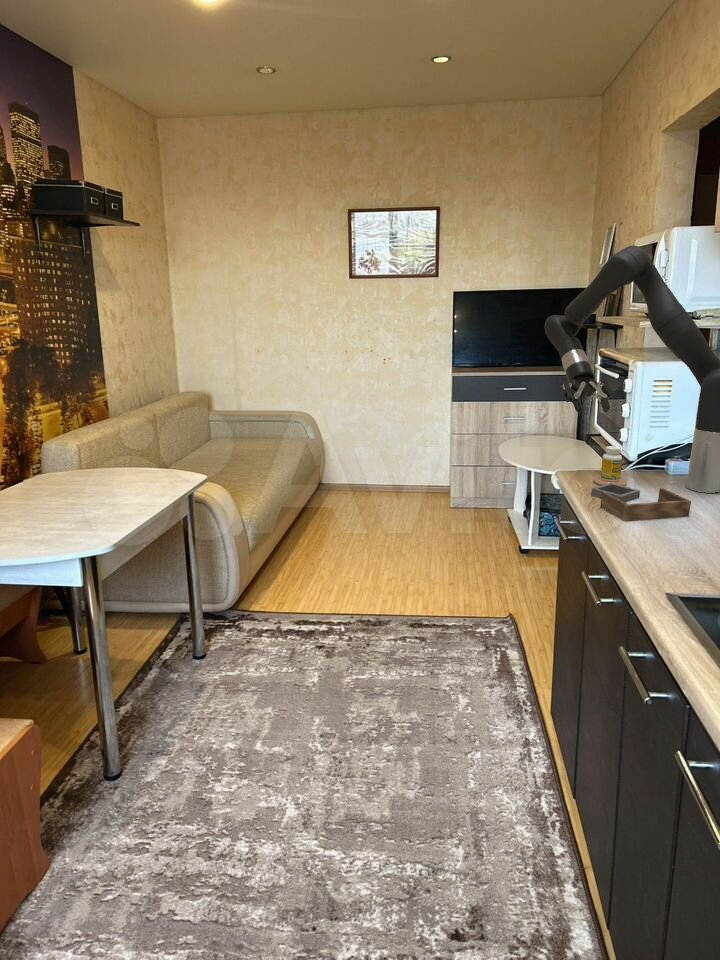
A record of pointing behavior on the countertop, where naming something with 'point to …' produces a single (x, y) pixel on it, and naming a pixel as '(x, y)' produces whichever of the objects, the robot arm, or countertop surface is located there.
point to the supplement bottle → (611, 464)
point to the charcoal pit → (616, 492)
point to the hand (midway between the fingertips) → (594, 411)
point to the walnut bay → (648, 507)
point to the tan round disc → (600, 482)
